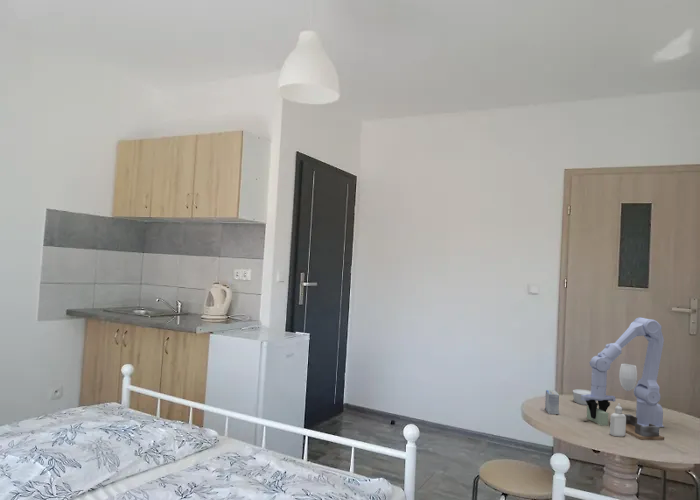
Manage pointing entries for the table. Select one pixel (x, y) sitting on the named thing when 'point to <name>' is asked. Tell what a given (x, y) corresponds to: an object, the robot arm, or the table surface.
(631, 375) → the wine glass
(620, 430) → the eye dropper bottle
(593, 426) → the table surface
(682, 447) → the table surface
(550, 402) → the medicine box
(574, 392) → the ramekin
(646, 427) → the slotted holder
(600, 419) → the rail plank
